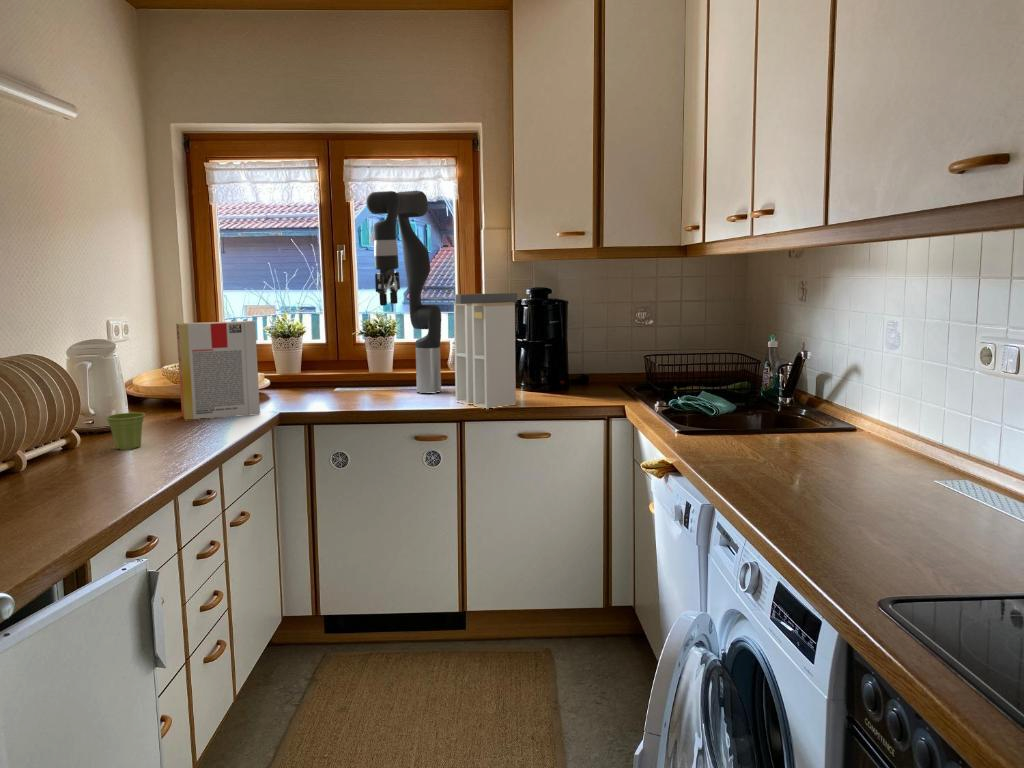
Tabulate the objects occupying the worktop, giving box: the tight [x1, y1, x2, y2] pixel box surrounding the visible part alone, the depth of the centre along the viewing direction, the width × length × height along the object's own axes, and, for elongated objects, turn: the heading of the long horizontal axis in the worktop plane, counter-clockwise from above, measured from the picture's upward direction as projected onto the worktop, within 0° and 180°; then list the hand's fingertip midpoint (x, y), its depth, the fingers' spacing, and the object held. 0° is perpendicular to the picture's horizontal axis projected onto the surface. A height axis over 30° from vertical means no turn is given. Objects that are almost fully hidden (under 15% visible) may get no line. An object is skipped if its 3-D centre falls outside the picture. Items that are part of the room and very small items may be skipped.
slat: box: [455, 292, 518, 304], centre depth 275 cm, size 23×3×3 cm, turn 127°
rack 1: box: [453, 301, 473, 403], centre depth 288 cm, size 12×8×35 cm, turn 127°
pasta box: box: [175, 320, 261, 420], centre depth 266 cm, size 23×8×30 cm, turn 117°
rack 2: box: [472, 302, 517, 410], centre depth 279 cm, size 12×8×35 cm, turn 127°
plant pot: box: [105, 412, 146, 451], centre depth 218 cm, size 9×9×9 cm
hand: (388, 304), depth 271 cm, fingers open, 8 cm apart
